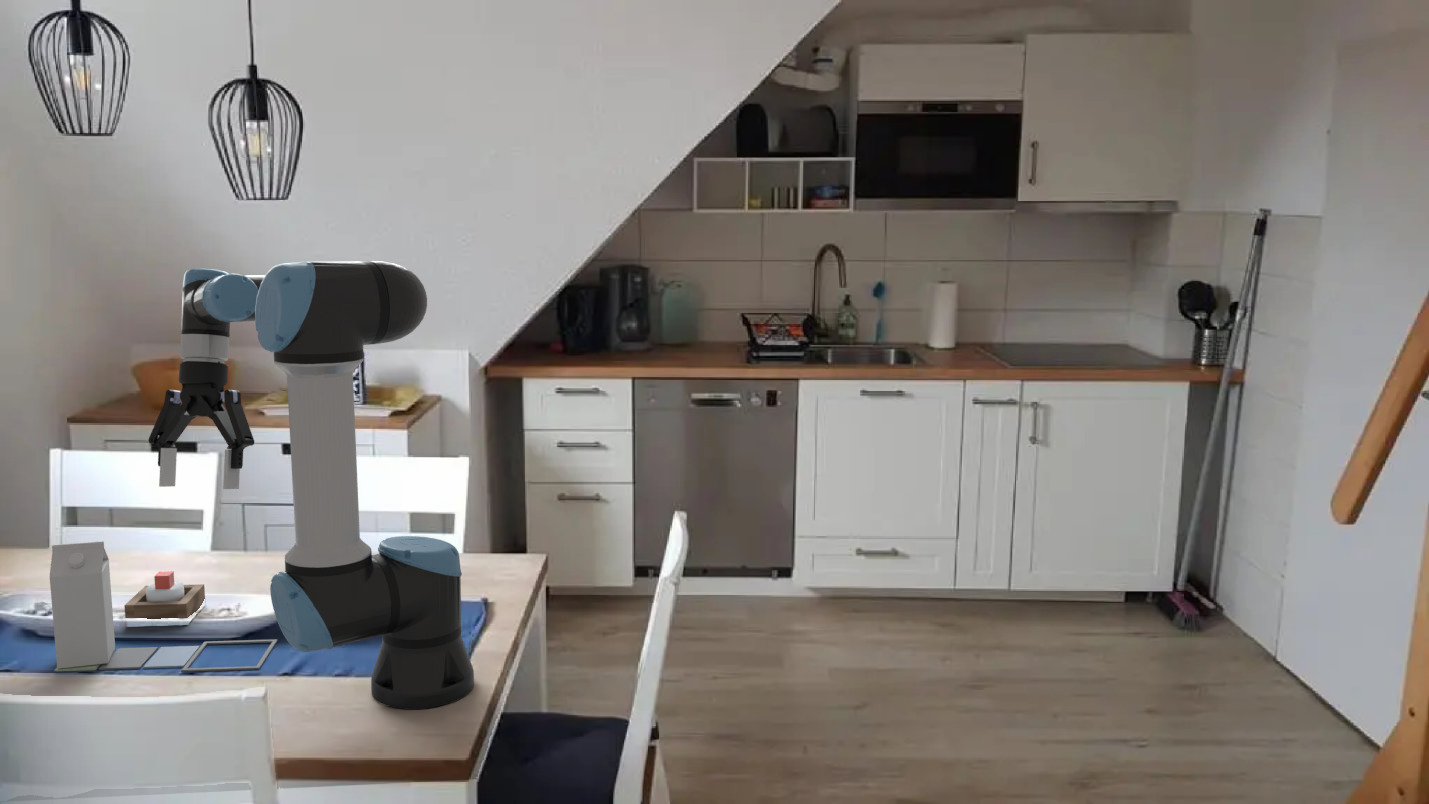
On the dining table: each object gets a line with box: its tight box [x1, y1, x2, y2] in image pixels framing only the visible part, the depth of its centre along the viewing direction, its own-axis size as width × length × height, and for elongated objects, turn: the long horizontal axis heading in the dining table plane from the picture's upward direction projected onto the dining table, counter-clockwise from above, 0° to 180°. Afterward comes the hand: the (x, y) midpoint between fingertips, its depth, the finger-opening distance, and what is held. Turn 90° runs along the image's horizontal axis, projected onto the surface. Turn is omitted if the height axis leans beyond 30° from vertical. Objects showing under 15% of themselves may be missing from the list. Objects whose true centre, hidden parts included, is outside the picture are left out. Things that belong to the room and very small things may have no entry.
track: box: [54, 639, 278, 673], centre depth 179 cm, size 12×31×1 cm, turn 98°
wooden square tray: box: [123, 584, 206, 619], centre depth 196 cm, size 10×10×4 cm
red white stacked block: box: [146, 570, 185, 602], centre depth 196 cm, size 6×6×6 cm
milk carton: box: [49, 540, 116, 668], centre depth 176 cm, size 7×7×19 cm
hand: (198, 487), depth 187 cm, fingers open, 13 cm apart
